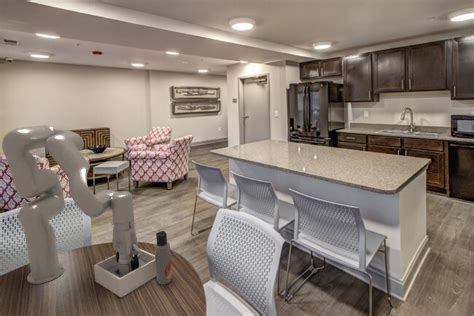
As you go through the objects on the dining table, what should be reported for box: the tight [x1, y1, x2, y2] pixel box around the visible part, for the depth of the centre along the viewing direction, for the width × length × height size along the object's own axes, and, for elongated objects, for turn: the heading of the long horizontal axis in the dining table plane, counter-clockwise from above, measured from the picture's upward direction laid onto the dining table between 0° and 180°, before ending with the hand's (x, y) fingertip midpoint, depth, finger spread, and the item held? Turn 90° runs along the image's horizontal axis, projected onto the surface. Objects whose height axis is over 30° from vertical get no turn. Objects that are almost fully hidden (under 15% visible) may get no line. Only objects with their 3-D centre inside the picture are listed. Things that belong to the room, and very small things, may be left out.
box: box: [93, 248, 157, 298], centre depth 114 cm, size 17×18×7 cm
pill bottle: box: [119, 250, 136, 277], centre depth 113 cm, size 6×6×11 cm
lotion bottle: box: [153, 230, 173, 285], centre depth 110 cm, size 6×6×20 cm
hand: (127, 264), depth 113 cm, fingers open, 9 cm apart
